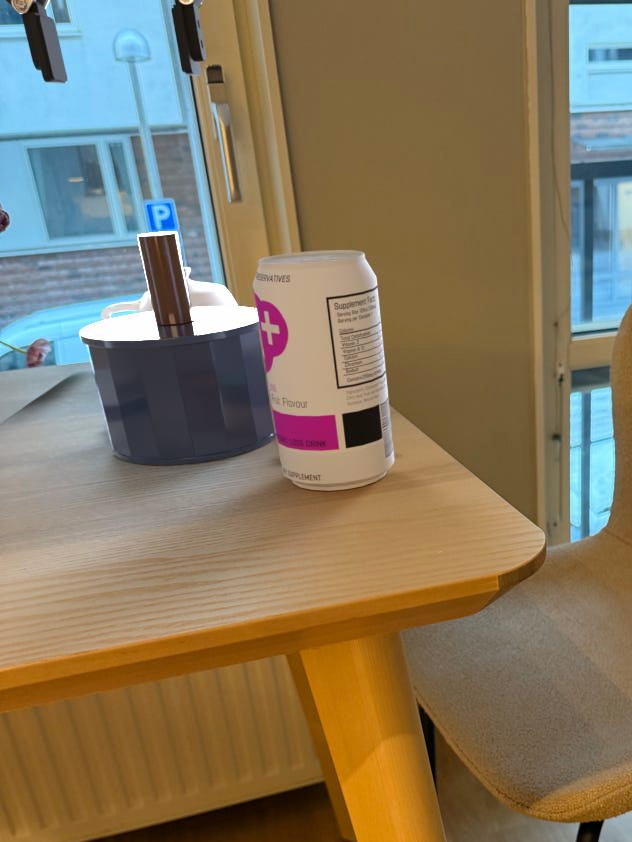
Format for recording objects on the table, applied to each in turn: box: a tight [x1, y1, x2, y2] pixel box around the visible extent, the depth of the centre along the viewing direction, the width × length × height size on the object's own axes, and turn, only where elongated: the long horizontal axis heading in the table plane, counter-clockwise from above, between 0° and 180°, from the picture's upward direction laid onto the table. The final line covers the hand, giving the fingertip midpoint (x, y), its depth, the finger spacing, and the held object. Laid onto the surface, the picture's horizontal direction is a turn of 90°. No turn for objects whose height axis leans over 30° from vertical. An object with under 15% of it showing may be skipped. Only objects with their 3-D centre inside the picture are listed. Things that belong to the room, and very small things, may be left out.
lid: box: [78, 231, 259, 349], centre depth 73 cm, size 15×15×8 cm
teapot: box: [100, 266, 240, 321], centre depth 106 cm, size 20×12×10 cm, turn 102°
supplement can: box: [252, 249, 395, 492], centre depth 65 cm, size 8×8×15 cm
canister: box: [85, 329, 277, 466], centre depth 76 cm, size 14×14×9 cm
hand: (124, 78), depth 66 cm, fingers open, 9 cm apart
